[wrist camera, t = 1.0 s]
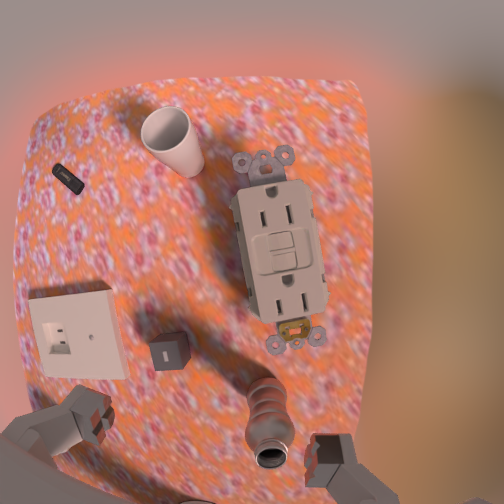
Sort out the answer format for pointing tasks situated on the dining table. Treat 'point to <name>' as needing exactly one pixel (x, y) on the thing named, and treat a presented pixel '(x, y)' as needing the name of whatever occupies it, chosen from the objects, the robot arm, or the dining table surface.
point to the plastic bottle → (269, 423)
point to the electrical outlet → (280, 249)
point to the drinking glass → (173, 140)
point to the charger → (170, 351)
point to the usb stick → (68, 179)
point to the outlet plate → (79, 336)
